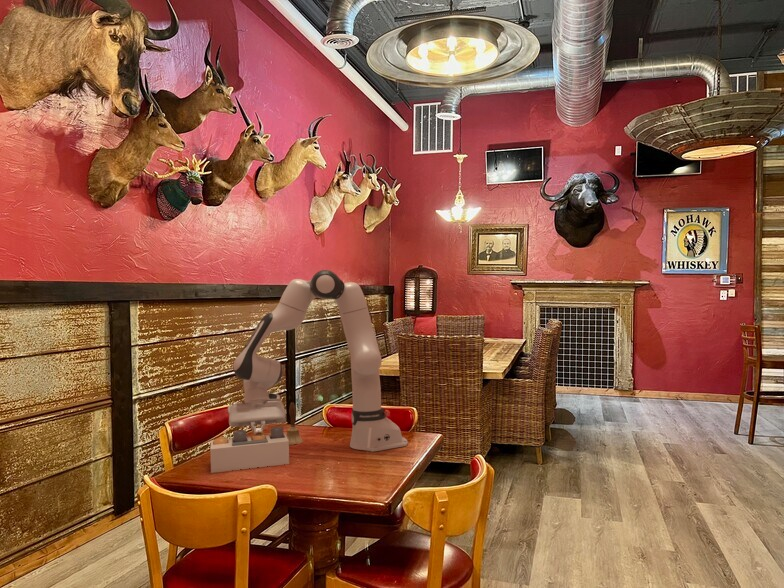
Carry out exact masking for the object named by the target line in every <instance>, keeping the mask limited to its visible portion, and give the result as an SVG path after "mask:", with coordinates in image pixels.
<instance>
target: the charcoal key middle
mask: <svg viewBox="0 0 784 588" xmlns="http://www.w3.org/2000/svg"><path fill="white" fill-rule="evenodd" d="M246 437H247V430H245V429H239V430H234V431H233V434H232V438H233V439H234V442H244V441H246Z"/></svg>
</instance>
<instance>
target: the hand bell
mask: <svg viewBox="0 0 784 588" xmlns="http://www.w3.org/2000/svg"><path fill="white" fill-rule="evenodd" d="M288 413H289V417H290V427H288V428H287V429H286V430H287V431H286V436H287V438H288V441H289V446H295V445H294V444H297V445H300V444H299V443H301V444H303V443H304V439H303V438H302V437H301V435H300V431H299V430H300V429H299V428H298V427H296V419H295V418H296V415H297V411H296V405H295V403H294V402H290V404H289V409H288ZM302 442H303V443H302Z"/></svg>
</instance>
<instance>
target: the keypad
mask: <svg viewBox="0 0 784 588" xmlns="http://www.w3.org/2000/svg"><path fill="white" fill-rule="evenodd" d="M286 435H287V433H285V432H283V438H276V439H271V433H270V434H265V439H263V440H252V436H253V435H252V436H246V441H244V442H234V439H233V437H231V438H227V443H226V444H217V445H214V439H212V440H211V441H210V450H209V451H210V474H215V473H224V472H232V470H233V471H241V470H240V469H242V470H249V468H250V469H258V468H257V467H259V468H264V467H265V468H266V467H267V466H268V467H275V466H282V465H283V466H284V464H285V465H290V445H289V441H288V438H287V436H286ZM268 467H267V468H268Z"/></svg>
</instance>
